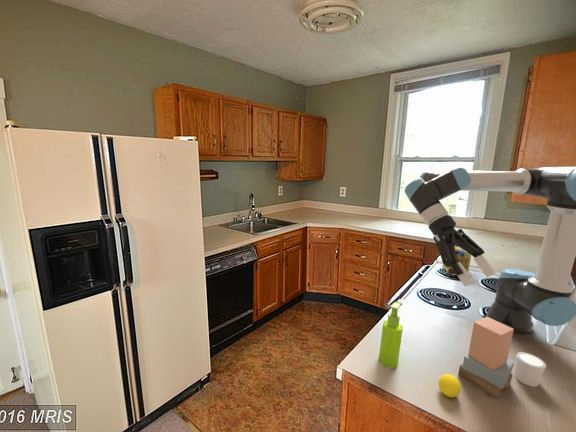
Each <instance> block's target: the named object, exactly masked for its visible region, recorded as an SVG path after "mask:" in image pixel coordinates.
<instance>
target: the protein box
mask: <svg viewBox="0 0 576 432" xmlns="http://www.w3.org/2000/svg"><path fill="white" fill-rule="evenodd" d="M455 251H456V256H457V263H458V262H460V263H461V264H462V265H463V267H464V268H465V270H466V271H467V272H468V273H469V270H470V269H469V268H470V265H471V260H472V259H471V258H472V255H470V254H469V253H468V252H466V251H465V250H463V249H462V248H460V247H459V246H458V247H457V246H455ZM446 260H447V259H446ZM442 267H443V269H444V268H445V269H444V270H446V271H447V272H446V271H445V272H446V274H447V273H448V274H447V275H449V274H455V275H457V274H456V273H455V271H454V270H453V269H452V267H451V266H450V267H446V265H444V264H443V263H442ZM455 275H454V276H455Z"/></svg>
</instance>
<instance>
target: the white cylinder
mask: <svg viewBox="0 0 576 432" xmlns="http://www.w3.org/2000/svg"><path fill="white" fill-rule="evenodd" d="M514 366H515V368H514V377H515V378H516V379H517V380H518V381H519V382H520V383H522V384H524V385H526V386H530V387H533V388H535V387H538V386H539V384H540V382H541V379H542V377H543V376H544V372H545V371H546V368H547V364H546V362H545V361H544V360H543V359H541V358H540V357H538V356H536V355H533V354H531V353H528V352H522V351H519V352H517V353H516V355H515V365H514Z"/></svg>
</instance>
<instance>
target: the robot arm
mask: <svg viewBox="0 0 576 432" xmlns="http://www.w3.org/2000/svg"><path fill="white" fill-rule="evenodd" d="M460 191H461V192H462V191H464V192H468V191H469V192H470V191H471V192H506V193H507V192H508V193H509V192H513V193H514V194H516V195H526V196H532V197H538V198H542V199H547V200H546V205H545V206H546V207H547V209H548V210H549V211H550V213H549V217H548V221H547V225H546V229H545V232H544V233H545V234H544V237H543V241H542V243H541V244H542V245H541V250H540V252H539V257H538V260H537V264H536V269H535V272H531V271H528V270H523V269H516V268H505V269H503V270H501V271H500V275H499V277H498V282H497V287H496V293H495V298H494V301H493V303H492V304H491V306H490V307H489V308H488V310H487V311H486V316H485V317H489V318H491V319H493V320H495V321H498V322H500V323H502V324H504V325H506V326H508V327H511V328H513V329H514V331H513V334H514V333H515V334H520V335H525V334H527V335H528V334H531V333H533V329H534V323H533V320H532V319H535V320H537V321H539V322H541V323H542V324H543V325H546V326H551V327H559V326H564V325H565V324H567V323H570V322H572V321H573V320H574V318H575V317H576V302H575V301H574V300H573V299H572V298H571V297H572V294H573V288H572V287H571V286H570V285H569V281H570V276H571V273H572V270H573V265H574V262H575V259H576V166H545V167H535V168H532V167H531V168H519V169H517V170H514V171H513V170H508V171H506V170H503V171H502V170H500V171H499V170H467V169H466V168H464V167H463V166H459V165H458V166H456V167H454V168H450V169H449V170H437V169H436V170H434V169H430V170H424V171H423V172H422V173H421V174H420V176H419V178H418V179H417V178H416V179H413V180H412V181H411V182H409V183H408V184H407V185H406V186H405V188H404V194H405V195H406V197H407V199H408V200H409V202H410V203H411V204H412V206H413V207H414V208H415V210H416V211H417V213H418V214H419V216H420V217H421V219H422V221H423V222H424V223H425V224H426V226H427V227H428V229H429V230H430V232H431V233H432V235H433V237H432V239H433V240H434V242H435V243H436V247H437V250H438V253H439V255H440V258H441V261H442V265H443V264H444V265H446V267H450V266H451V267H452V269H453V270H454V271H455V273H456V274H457V276H456V277H458V278H459V280H460V282H461V283H462V285H463V286H464V287H465V288H466V287H468V286H471V285H473V284H475V281H474V279H473V278H472V277H471V275H470V274H469V271H468V272H467V271H466V270H465V268H464V267H463V265H462V264H461V263H460V262H458V263H457V256H456V251H455V246H457V247H458V246H459V247H460V248H462V249H463V250H465V251H466V252H468V253H469V254H470V255H471V257H473V261H474V262H475V263H476V264H477V266H478V268H480V270H481V271H482V272H483V274H484V276H485V277H486V278H489V277H491V276H494V275H495V274H497V272H496V271H495V270H494V269H493V267H492V265H490V262H488V260H487V259H486V258H485V257H484V256H483V254H485V250H484V249H483V248H482V247H481V246H479V244H477V243H476V242H475V241H474V240H473V239H472V238H471V237H470V236H469V235H467V234H466V233H465V231H464V230H463V229H461V228H459V229H457V230H456V228H455V227H456V225H457V223H456V221H455V220H454V218H453V217H452V216H451V215H450V214H449V211H448V210H447V208H445V206H444V205H443V204H442V202H441V200H444V199H446V198H448V197H449V196H451V195H454V194H455V193H458V192H460ZM446 259H447V260H446ZM532 317H533V318H532Z"/></svg>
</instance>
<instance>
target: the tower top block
mask: <svg viewBox="0 0 576 432" xmlns="http://www.w3.org/2000/svg"><path fill="white" fill-rule="evenodd" d="M468 353H469V350H468V351H467V353H466V354H465V355H464V357H463V362H462V363H463V366H462V368H463V369H465V370H467V371H469V372H471V373H473V374H475V375H476V376H478V377H480V378H482V379H484V380H486V381H488V382H490V383H492V384H494V385H495V386H497V387H499V388H501V389H503V387H504V385H505V383H506V382H507V380H508V378H509V376H510V374H512V371H513V367H514V363H515V360H513V359H511V358H509V357H508V359H507V363H505V364H504V365H502V366H500V367H499V368H497V369H495V370H492V369H491V368H489V367H487V366H486V365H484V364H482V363H481V362H479V361H477V360H476V359H474V358H472V357H471V356H469V355H468Z"/></svg>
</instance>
